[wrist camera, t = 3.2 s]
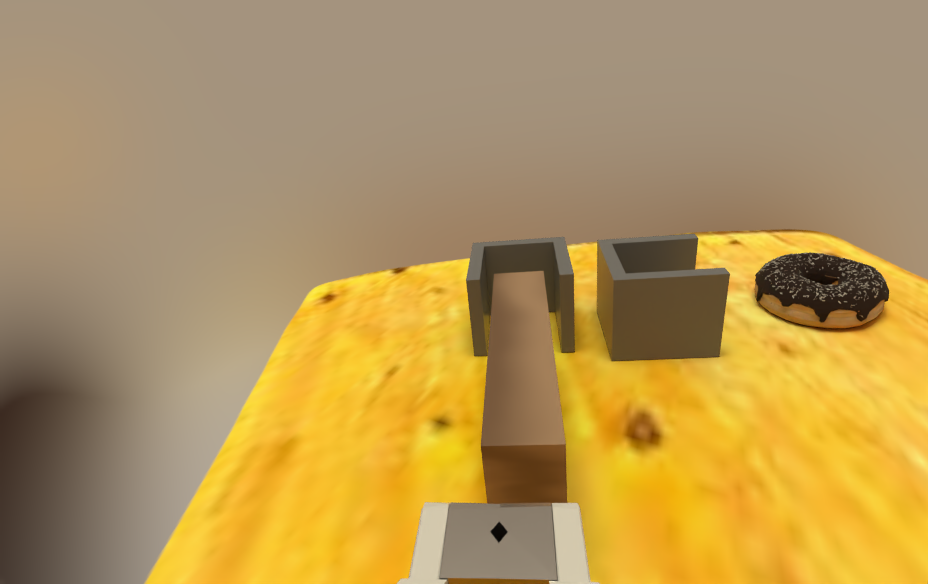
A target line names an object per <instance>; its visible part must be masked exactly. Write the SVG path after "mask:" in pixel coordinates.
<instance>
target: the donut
mask: <svg viewBox="0 0 928 584" xmlns="http://www.w3.org/2000/svg"><path fill="white" fill-rule="evenodd" d="M755 276H756V279H755V281H756V284H755V294H756V297H757V301H759V302H760V304H761V305H762V306H763V307H764V308H766V309H767V310H768V311H770V312H771V313H773V314H775V315H777V316H779V317H781V318H783V319H785V320H788V321H791V322H795V323H798V324H801V325H807V326H815V327H823V328H849V327H855V326H861V325H863V324H865V323H867V322H869V321H871V320H873V319H874V318H876V317H877V316H878V315H879V314H880V313H881V312H882V311H883V309H884V302H886V301H888V298H889V289H888V287H887V284H886V281H885V279H884V277H883V276H882V275H881V274H880V273H879V272H878V270H876V268H873V267H871V266H869V265H867V264H866V265H865V264H862V263H860V262H856V261H852V260H849V259H845V258H839V257H836V256H830V255H826V254H825V255H824V254H823V253H822V254H820V253H801V254H789V255H788V254H787V255H784V256H780V257H778V258H776V259H773V260H771V261H770V262H768V263H766V264H765V265H764V266H763V267H762V268H761V270H760V271H759V272H758V273H756V275H755Z"/></svg>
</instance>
